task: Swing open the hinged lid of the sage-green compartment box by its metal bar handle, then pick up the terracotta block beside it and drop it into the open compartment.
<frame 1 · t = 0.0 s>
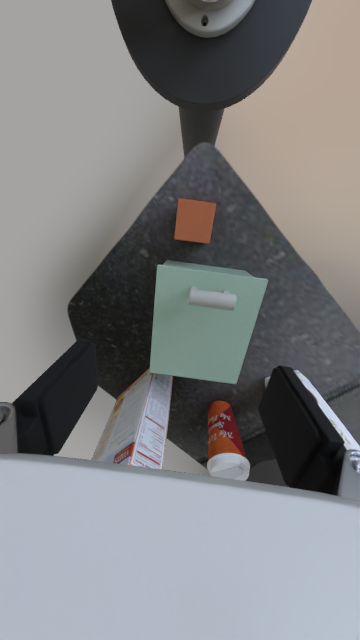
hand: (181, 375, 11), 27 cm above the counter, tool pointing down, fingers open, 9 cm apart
paper cup: (219, 408, 48), on the counter
juice carton: (282, 383, 44), on the counter
block: (194, 223, 32), on the counter
cracker box: (145, 385, 46), on the counter
compartment: (198, 307, 37), on the counter
lid: (202, 338, 26), point 12 cm above the counter, hinge at 0.0°
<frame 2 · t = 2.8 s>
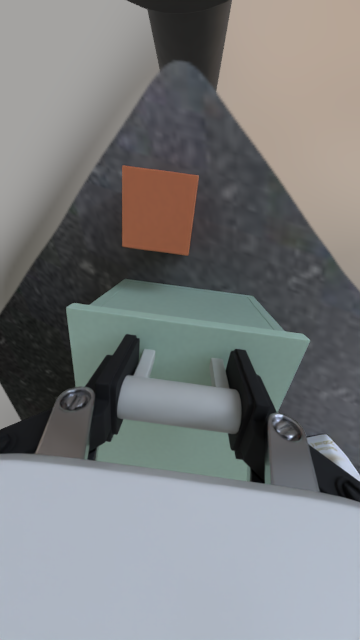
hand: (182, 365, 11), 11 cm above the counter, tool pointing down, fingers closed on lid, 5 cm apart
juice carton: (303, 449, 31), on the counter
block: (166, 217, 18), on the counter
compartment: (180, 349, 24), on the counter
lid: (169, 450, 13), point 12 cm above the counter, hinge at 0.0°, touching gripper
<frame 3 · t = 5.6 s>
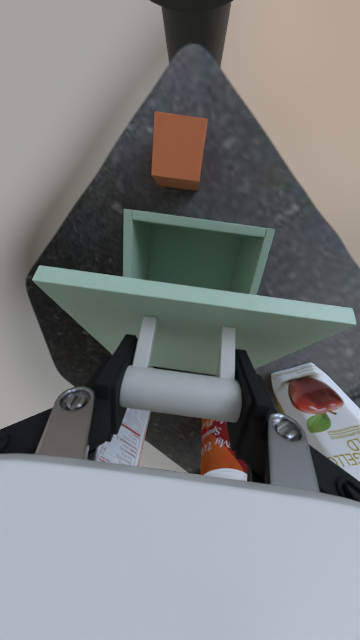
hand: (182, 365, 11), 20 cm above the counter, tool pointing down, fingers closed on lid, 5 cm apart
paper cup: (215, 411, 40), on the counter
juice carton: (292, 379, 36), on the counter
block: (180, 164, 24), on the counter
cracker box: (126, 383, 38), on the counter
compartment: (188, 281, 30), on the counter
lid: (179, 374, 15), point 17 cm above the counter, hinge at 43.1°, touching gripper
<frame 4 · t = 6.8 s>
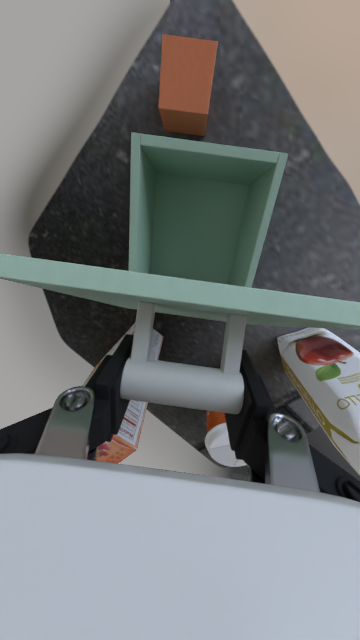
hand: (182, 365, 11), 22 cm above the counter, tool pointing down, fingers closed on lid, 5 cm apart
paper cup: (220, 379, 39), on the counter
juice carton: (299, 344, 35), on the counter
block: (187, 106, 23), on the counter
cracker box: (130, 349, 38), on the counter
compartment: (194, 237, 29), on the counter
lid: (184, 336, 15), point 19 cm above the counter, hinge at 65.9°, touching gripper
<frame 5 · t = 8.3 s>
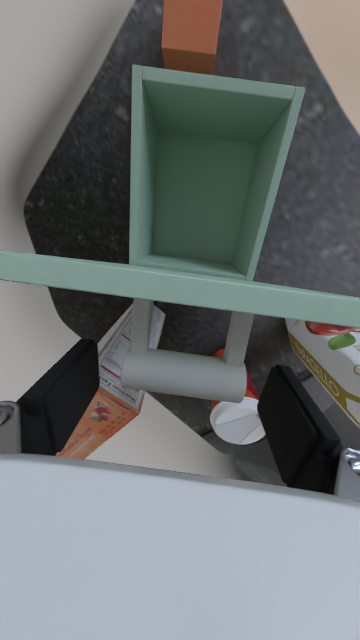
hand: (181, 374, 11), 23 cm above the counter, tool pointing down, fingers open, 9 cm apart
paper cup: (224, 360, 38), on the counter
juice carton: (307, 322, 34), on the counter
block: (192, 55, 22), on the counter
cracker box: (131, 329, 36), on the counter
compartment: (199, 204, 28), on the counter
lid: (187, 310, 14), point 19 cm above the counter, hinge at 79.4°
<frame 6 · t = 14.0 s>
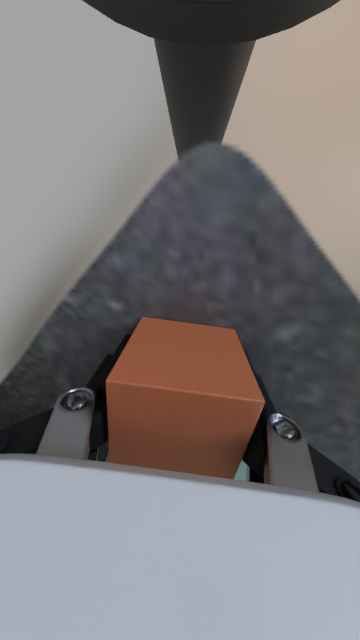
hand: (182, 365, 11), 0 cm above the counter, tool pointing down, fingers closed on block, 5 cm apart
block: (182, 360, 12), on the counter, touching gripper
when the fingers open (15 cm above the counter, at t = 18.9 s): block drops 14 cm, resting on compartment.
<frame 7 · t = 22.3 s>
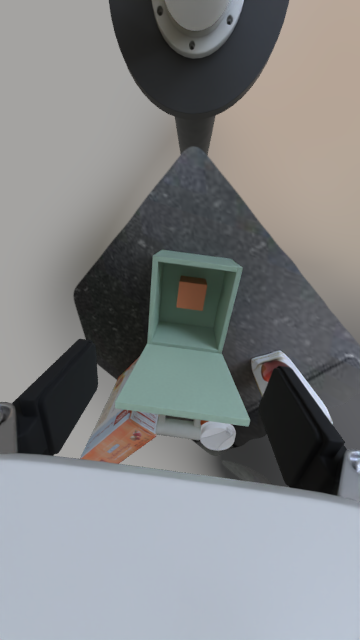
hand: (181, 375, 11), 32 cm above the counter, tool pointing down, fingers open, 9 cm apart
paper cup: (211, 388, 53), on the counter
juice carton: (267, 363, 48), on the counter
block: (191, 289, 41), point 1 cm above the counter, touching compartment
cracker box: (144, 366, 51), on the counter
compartment: (190, 292, 42), on the counter
lid: (181, 387, 28), point 19 cm above the counter, hinge at 79.4°
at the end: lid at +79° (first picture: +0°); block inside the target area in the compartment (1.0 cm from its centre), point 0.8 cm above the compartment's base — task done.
